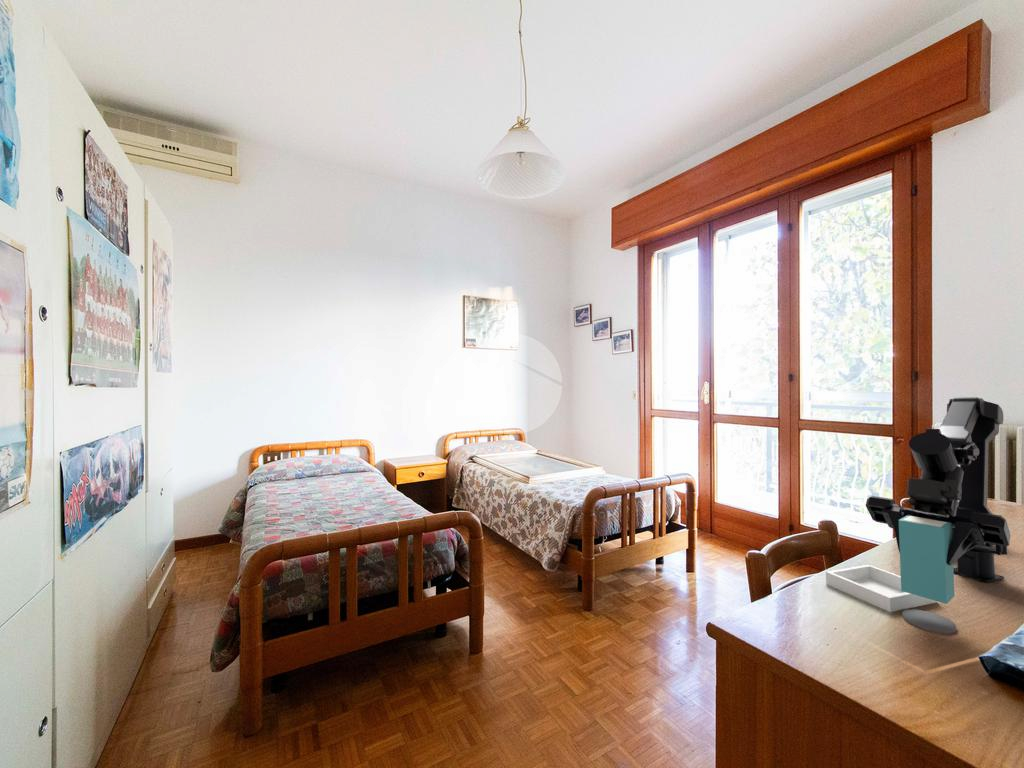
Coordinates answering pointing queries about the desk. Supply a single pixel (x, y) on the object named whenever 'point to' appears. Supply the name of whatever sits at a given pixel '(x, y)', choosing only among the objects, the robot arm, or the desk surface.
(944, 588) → the teal carton
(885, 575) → the white tray
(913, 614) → the charcoal coaster
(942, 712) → the desk surface
